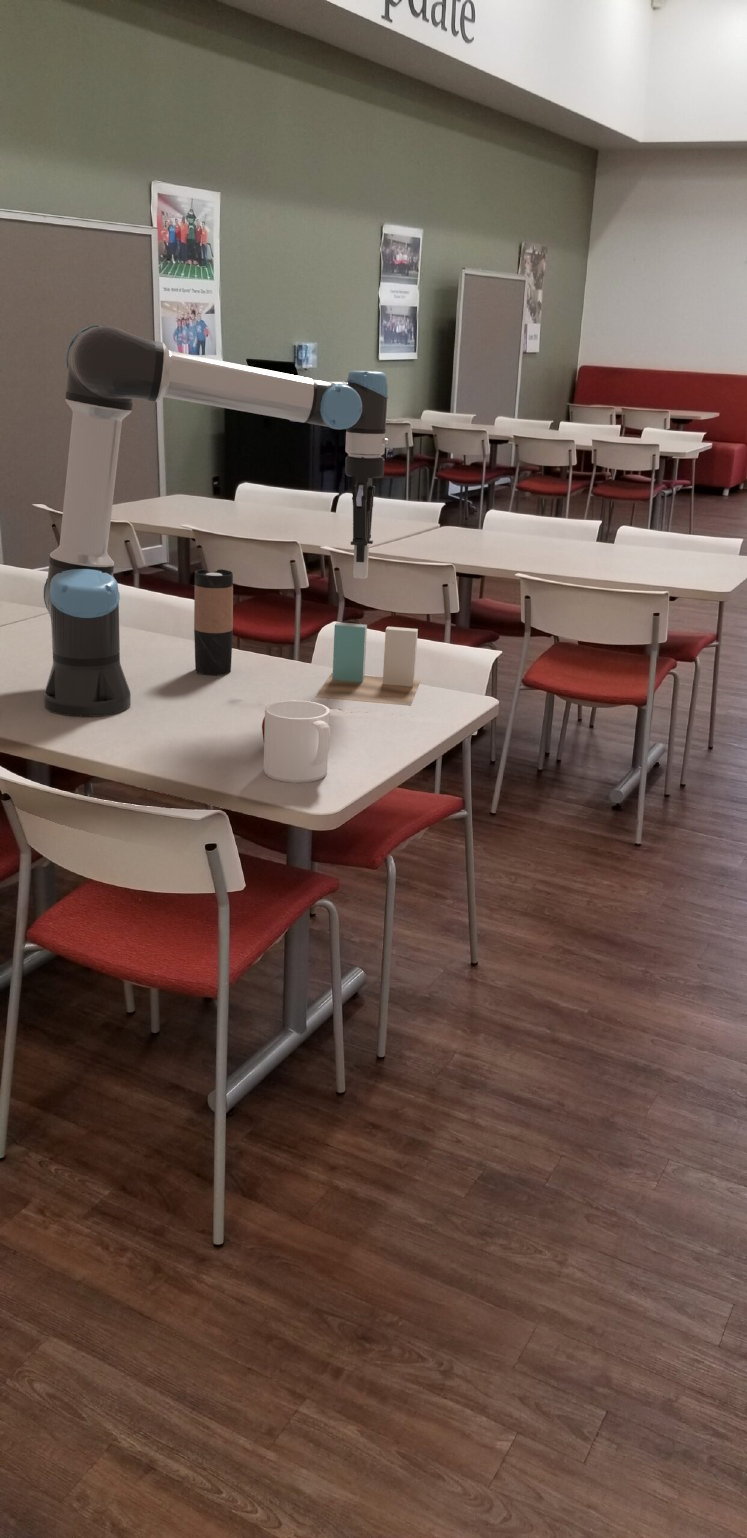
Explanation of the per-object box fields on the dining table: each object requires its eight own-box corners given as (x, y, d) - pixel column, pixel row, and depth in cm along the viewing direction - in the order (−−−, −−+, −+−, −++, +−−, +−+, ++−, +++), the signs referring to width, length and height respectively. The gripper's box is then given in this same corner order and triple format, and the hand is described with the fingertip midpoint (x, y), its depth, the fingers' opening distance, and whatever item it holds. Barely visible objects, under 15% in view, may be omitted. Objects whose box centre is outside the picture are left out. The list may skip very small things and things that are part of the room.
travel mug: (216, 677, 236) (216, 577, 230) (186, 670, 240) (186, 571, 233) (239, 670, 243) (241, 572, 236) (210, 663, 246) (210, 567, 240)
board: (410, 711, 222) (410, 705, 221) (315, 702, 224) (315, 696, 223) (420, 686, 238) (420, 680, 238) (331, 678, 240) (331, 672, 240)
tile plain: (412, 686, 233) (416, 631, 230) (382, 684, 234) (385, 629, 230) (414, 683, 235) (417, 628, 232) (384, 680, 236) (387, 626, 232)
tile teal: (362, 682, 234) (365, 627, 231) (332, 679, 235) (334, 624, 231) (364, 679, 237) (367, 624, 233) (334, 676, 237) (336, 622, 234)
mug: (251, 768, 188) (252, 705, 185) (302, 757, 194) (304, 696, 191) (297, 792, 179) (300, 727, 176) (350, 780, 185) (353, 717, 182)
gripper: (379, 459, 223) (374, 584, 231) (388, 453, 235) (383, 572, 243) (340, 457, 223) (336, 582, 231) (351, 451, 236) (347, 570, 244)
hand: (360, 577), depth 237 cm, fingers closed
